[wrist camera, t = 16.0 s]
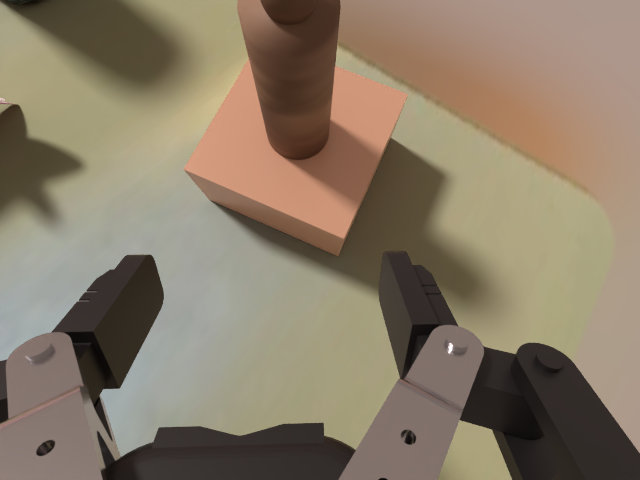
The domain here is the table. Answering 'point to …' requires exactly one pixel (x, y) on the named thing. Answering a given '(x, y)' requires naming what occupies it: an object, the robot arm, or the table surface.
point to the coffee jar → (19, 1)
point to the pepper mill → (293, 69)
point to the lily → (5, 102)
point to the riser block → (298, 175)
